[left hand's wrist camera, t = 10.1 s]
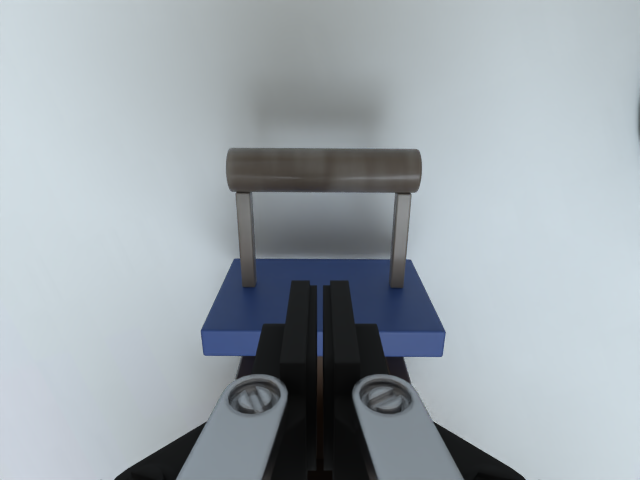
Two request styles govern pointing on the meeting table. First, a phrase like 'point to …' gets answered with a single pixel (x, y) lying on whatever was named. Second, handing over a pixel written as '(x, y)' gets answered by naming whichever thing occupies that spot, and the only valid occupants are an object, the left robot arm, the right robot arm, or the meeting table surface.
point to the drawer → (324, 262)
